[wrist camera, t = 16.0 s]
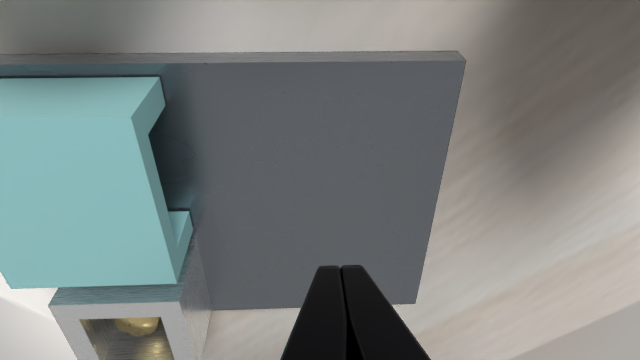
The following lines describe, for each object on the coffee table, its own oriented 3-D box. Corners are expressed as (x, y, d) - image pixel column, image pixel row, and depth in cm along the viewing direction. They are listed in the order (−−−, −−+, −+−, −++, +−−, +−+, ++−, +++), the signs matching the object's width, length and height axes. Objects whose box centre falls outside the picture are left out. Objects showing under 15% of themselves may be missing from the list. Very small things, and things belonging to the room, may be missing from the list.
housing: (159, 76, 17) (130, 117, 14) (193, 229, 21) (176, 283, 18) (-25, 78, 16) (-93, 120, 13) (50, 233, 21) (11, 288, 18)
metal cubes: (457, 50, 18) (495, 90, 14) (410, 288, 26) (427, 348, 23) (-30, 54, 17) (-112, 97, 14) (85, 298, 26) (53, 362, 22)
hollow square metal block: (196, 238, 22) (179, 301, 18) (211, 308, 25) (199, 372, 22) (85, 241, 21) (47, 305, 18) (115, 311, 25) (87, 377, 21)
